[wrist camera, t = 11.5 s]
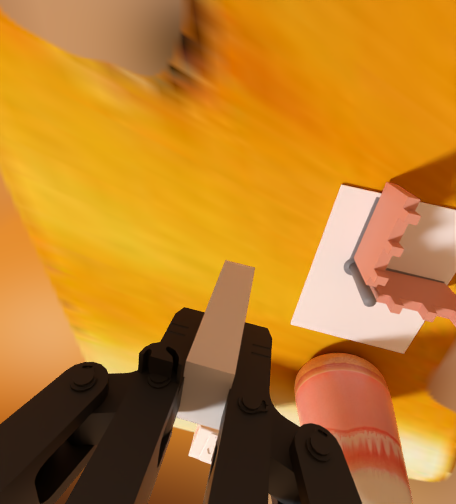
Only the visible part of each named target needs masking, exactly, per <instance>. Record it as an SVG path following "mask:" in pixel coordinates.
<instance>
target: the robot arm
mask: <svg viewBox="0 0 456 504" xmlns="http://www.w3.org/2000/svg"><path fill="white" fill-rule="evenodd" d="M254 270H255V268H254V267H250V266H246V265H242V264H238V263H234V262H230V261H226V260H225V263H224V265H223V268H222V271H221V273H220V276H219V278H218V281H217V283H216V286H215V288H214V291H213V293H212V296H211V299H210V301H209V304H208V306H207V309H206V311H205V313H204V312H201V311H197V310H193V309H189V308H185V307H184V308H183V309H181V310H180V311H178V312H177V313H176V314H175V315H174V317H173V319H172V321H171V323H170V325H169V327H168V329H167V331H166V332H165V334H164V336H163V338H162V340H161V342H158V343H152V344H150V345H148V346H146V347H144V348H143V350H142V351H141V352H140V353H139V365H138V370H137V371H134V372H131V373H118V374H108V372H107V369H106V368H105V367H103V366H102V365H101V364H98V363H95V362H84V363H80V364H77V365H74V366H73V367H71V368H69V369H68V370H66V371H65V372H64V373H63V374H61V375H60V376H59V377H58V378H56V379H55V380H54V381H53V382H52V383H50V384H49V385H48V386H47V387H45V388H44V389H43V390H42V391H40V392H39V393H38V394H37V395H36V396H34V397H33V398H32V399H31V400H30V401H28V402H27V403H26V404H25V405H23V406H22V407H21V408H20V409H18V410H17V411H16V412H15V413H14V414H12V415H11V416H10V417H9V418H7V419H6V420H5V421H4V422H2V423H1V424H0V504H55V503H56V501H57V500H58V499H59V498H60V496H61V495H62V494H63V493H64V491H65V490H66V489H67V488H68V487H69V485H70V484H71V483H72V482H73V481H74V479H75V478H76V477H77V476H78V475H79V473H80V472H81V471H82V470H83V468H84V467H85V466H86V467H85V469H84V471H83V473H82V474H81V476H80V478H79V480H78V482H77V483H76V485H75V487H74V489H73V491H72V492H71V494H70V496H69V498H68V500H67V502H66V503H65V504H148V501H149V498H150V496H151V492H152V490H153V487H154V484H155V481H156V478H157V475H158V472H159V469H160V466H161V464H162V461H163V458H164V455H165V452H166V449H167V446H168V443H169V441H170V437H171V434H172V428H173V424H174V421H175V418H176V415H177V418H180V419H183V420H186V421H190V422H193V423H197V424H200V425H204V426H207V427H210V428H214V429H217V430H219V432H218V437H217V441H216V444H215V448H214V452H213V455H212V459H211V461H212V462H211V468H210V472H209V477H208V482H207V487H206V491H205V496H204V501H203V504H268V493H269V494H270V495H271V499H272V504H362V501H361V499H360V496H359V493H358V491H357V488H356V485H355V483H354V480H353V477H352V475H351V472H350V470H349V467H348V464H347V462H346V459H345V456H344V454H343V451H342V448H341V446H340V445H339V443H338V441H337V439H336V438H335V437H334V436H333V435H332V434H331V433H330V432H329V430H327V429H325V428H324V427H322V426H320V425H317V424H313V423H308V424H303V425H302V426H301V427H299V426H297V425H296V424H294V423H293V422H291V421H289V420H288V419H286V418H285V417H284V416H282V415H281V414H280V413H279V412H278V411H277V410H276V409H275V407H274V405H273V404H272V402H271V399H270V394H269V386H270V368H271V349H272V337H271V335H270V333H269V330H268V328H265V327H261V326H257V325H253V324H249V323H246V322H245V318H246V313H247V308H248V302H249V297H250V292H251V286H252V281H253V276H254Z"/></svg>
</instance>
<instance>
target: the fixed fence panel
mask: <svg viewBox="0 0 456 504" xmlns="http://www.w3.org/2000/svg"><path fill="white" fill-rule="evenodd" d="M419 202H420V199H419V198H417V197H416V196H414V195H413V194H411V193H409V192H408V191H406V190H405V189H403V188H402V187H400V186H399V185H397V184H394V183H389V182H386V185H385V187H384V189H383V192H382V194H381V196H380V199H379V201H378V203H377V205H376V208H375V210H374V212H373V215H372V217H371V219H370V221H369V224H368V226H367V228H366V231H365V233H364V235H363V237H362V240H361V242H360V244H359V247H358V249H357V251H356V253H355V256H354V260H355V262H356V263H351V264H350V265H349V269H350V272H351V274H352V277H353V279H354V282H355V284H356V286H357V289H358V291H359V294H360V296H361V299H362V301H363V303H364V305H365V306H367V307H372V306H374V305H375V304H376V302H377V301H376V298H375V296H374V294H373V292H372V290H371V288H370V286H373V287H377V285H382V286H385V285H386V283H387V281H388V280H389V278H388V276H387V275H386V273H385V272H384V271H385V269H386V267H387V265H388V263H389V261H390V259H391V257H392V256H396V257H400V256H401V255H402V253H403V251H404V248H403V247H402V246H401V245H400V244H399V242H400V240H401V238H402V236H403V234H404V232H405V230H406V228H407V226H408V224H412V225H417V224H418V222H419V220H420V218H421V215H419V214H418V213H417V212H416V211H415V210H416V208H417V206H418V204H419Z"/></svg>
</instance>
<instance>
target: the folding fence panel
mask: <svg viewBox="0 0 456 504" xmlns="http://www.w3.org/2000/svg"><path fill="white" fill-rule="evenodd" d="M384 272H385V273H386V275H387V276H388V278H389V280H388V281H387V283H386V285H385V286H382V285H377V287H373V286H370V288H371V290H372V292H373V294H374V296H375V298H376V301H377V302H379V303H384V304H386V305H387V307H388V309H389V310H390V312H391V313H396V314H400V312H401V311H402V309H403V308H405V309H409V310H414V311H418V313H419V314H420V316H421V317H422V319H423V320H425V321H430V322H433V320H434V319H435V317H436V316H439V317H444V318H448V319H450V320H451V321H452V323H453V324H454V325H455V326H456V295H455V294H454V293H453V292H452V291H451V289H450V288H449V287H448V286H447V285H446V284H445V283H441V282H436V281H432V280H427V279H423V278H419V277H414V276H410V275H405V274H401V273H396V272H392V271H387V270H385V271H384Z"/></svg>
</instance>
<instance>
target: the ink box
mask: <svg viewBox="0 0 456 504" xmlns="http://www.w3.org/2000/svg"><path fill="white" fill-rule="evenodd" d="M218 432H219V430H217V429H214V428H210V427H207V426H204V425H200V424H197V426H196V430H195V434H194V438H193V441H192V445H191V449H190V452H189V456H191V457H194V458H197V459H199V460H200V461H203V462H206V463H209V464H211V462H212V461H211V459H212V455H213V452H214V448H215V444H216V441H217V437H218Z"/></svg>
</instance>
